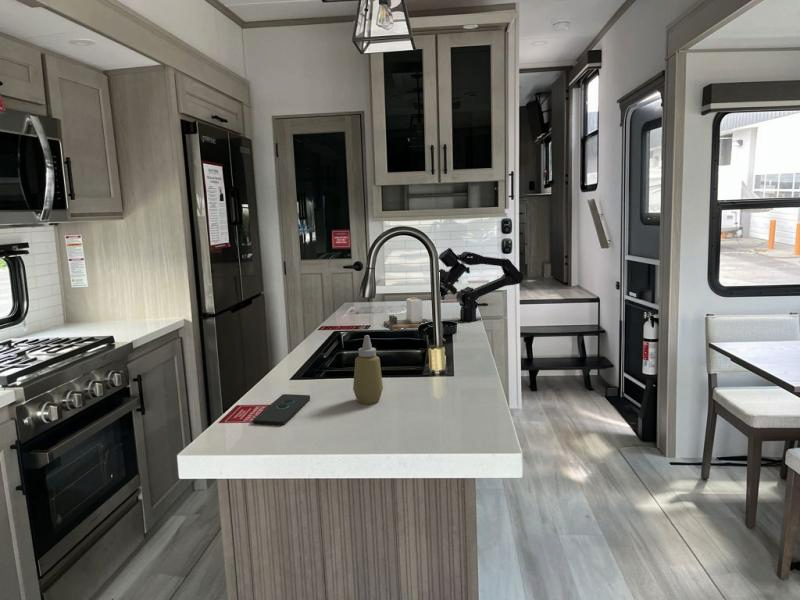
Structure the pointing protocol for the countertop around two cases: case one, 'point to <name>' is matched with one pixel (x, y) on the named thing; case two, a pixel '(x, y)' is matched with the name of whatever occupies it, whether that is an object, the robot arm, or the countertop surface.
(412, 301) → the block
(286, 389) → the countertop surface
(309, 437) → the countertop surface
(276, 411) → the smart home device
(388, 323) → the rail board
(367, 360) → the squeeze bottle
